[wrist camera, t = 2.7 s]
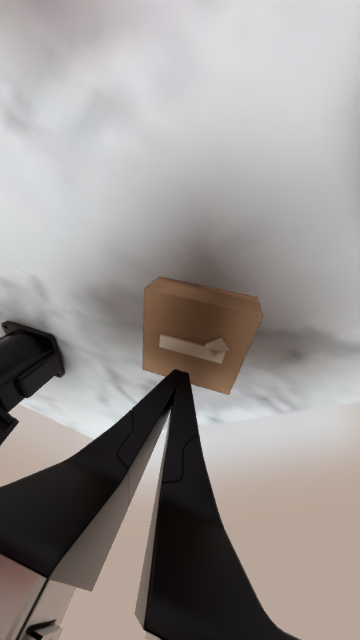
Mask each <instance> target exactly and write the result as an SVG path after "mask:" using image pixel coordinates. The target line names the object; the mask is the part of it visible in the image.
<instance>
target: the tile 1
mask: <svg viewBox="0 0 360 640" xmlns="http://www.w3.org/2000/svg"><path fill="white" fill-rule="evenodd" d="M262 317H263V313H262V310H261V307H260V304H259V301H258V298H257V297H253V296H248V295H244V294H239V293H234V292H229V291H225V290H220V289H215V288H210V287H206V286H201V285H196V284H191V283H187V282H182V281H177V280H172V279H168V278H163V277H159V278H157V279H156V280H155V281H154V282H152V283H151V284H150V285H149V286H147V287H146V288H145V289H144V327H143V370H146V371H149V372H152V373H156V374H159V375H163V376H167V375H168V374H169V373H171V372H172V371H173V370H174V369H178V370H181V372H182V371H184V372H188V373H189V376H190V382H191V384H193V385H196V386H200V387H203V388H207V389H210V390H213V391H217V392H220V393H223V394H227V395H229V394H230V391H231V389H232V387H233V384H234V382H235V380H236V377H237V375H238V373H239V370H240V368H241V366H242V363H243V361H244V359H245V357H246V354H247V352H248V350H249V347H250V345H251V343H252V340H253V338H254V336H255V333H256V331H257V329H258V326H259V324H260V322H261V320H262Z"/></svg>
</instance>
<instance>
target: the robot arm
mask: <svg viewBox="0 0 360 640" xmlns="http://www.w3.org/2000/svg"><path fill="white" fill-rule="evenodd" d="M2 327H3V329H4V331H5V334H6V335H5V336H3V337H1V338H0V445H1V444H2V443H3V441H4V440H5V439H6V438H7V436H8V435H9V434H10V433H11V431H12V430H13V429H14V427H15V426H16V425H17V424H18V422H19V421H18V420H17V419H16V418H13V417H12V416H11V415H10V414H9V413H8V412H9V411H10V410H11V409H12V408H14V407H15V406H16V405H17V404H18V403H20V402H21V401H22V400H23V399H24V398H29V397H31V396H32V395H33V394H34V393H35V392H36V391H38V390H39V389H40V388H41V387H42V386H43V385H44V384H45V383H47V382H48V381H49V380H50V379H51V378H52V377H53V376H56V377H59V378H61V377H62V376H63V375H64V371H63V367H62V364H61V360H60V357H59V353H58V349H57V346H56V342H55V339H54V337H53V336H51V335H49V334H46V333H43V332H40V331H37V330H33V329H30V328H27V327H24V326H21V325H18V324H14V323H11V322H8V321H6V322H4V323H2ZM171 407H172V408H171ZM170 410H171V412H170ZM169 413H170V418H169V423H168V429H167V435H166V441H165V446H164V452H163V457H162V463H161V468H160V474H159V480H158V485H157V492H156V497H155V502H154V508H153V513H152V519H151V525H150V531H149V536H148V542H147V547H146V553H145V559H144V564H143V570H142V575H141V581H140V587H139V593H138V599H137V603H136V609H135V615H136V617H137V619H138V620H139V622H140V624H141V626H142V628H143V629H144V630H145V631H146V637H145V640H300V639H298V638H296V637H294V636H292V635H290V634H288V633H286V632H284V631H282V630H281V629H279V628H278V627H277V626H276V625H275V624H274V623H273V622H272V621H271V619H270V618H269V616H268V615H267V614H266V612H265V611H264V609H263V607H262V606H261V604H260V602H259V600H258V598H257V596H256V594H255V592H254V590H253V588H252V586H251V583H250V581H249V579H248V577H247V575H246V573H245V571H244V569H243V567H242V565H241V562H240V560H239V558H238V556H237V554H236V552H235V550H234V548H233V546H232V544H231V542H230V539H229V537H228V535H227V534H226V531H225V529H224V526H223V524H222V521H221V518H220V515H219V512H218V508H217V505H216V501H215V498H214V494H213V491H212V487H211V484H210V480H209V477H208V473H207V469H206V465H205V461H204V457H203V453H202V447H201V442H200V436H199V430H198V424H197V418H196V412H195V406H194V400H193V394H192V388H191V382H190V376H189V373H188V372H184V371H182V372H181V370H178V369H174V370H173V371H172V372H171V373H169V374H168V375H167V376H166V377H165V378H164V379H163V380H162V381H161V382H160V383H159V384H158V385H157V386H156V387H155V388H154V389H152V390H151V391H150V392H149V393H148V394H147V395H146V396H145V397H144V398H143V399H142V400H141V401H140V402H139V403H138V404H136V405H135V406H134V407H133V408H132V410H130V411H129V412H128V413H127V414H126V415H125V416H124V417H122V418H121V419H120V420H119V421H118V422H117V423H116V424H114V425H113V426H112V427H111V428H109V429H108V430H107V431H105V432H104V433H103V434H102V435H100V436H99V437H98V438H96V439H95V440H94V441H92V442H91V443H90V444H88V445H87V446H86V447H84V448H83V449H82V450H80V451H79V452H78V453H76V454H75V455H73V456H72V457H70V458H68V459H67V460H65V461H63V462H61V463H58V464H56V465H53V466H51V467H49V468H46V469H44V470H42V471H39V472H37V473H34V474H32V475H29V476H27V477H25V478H22V479H20V480H17V481H15V482H12V483H10V484H8V485H5V486H2V487H0V640H58V639H59V637H60V634H61V632H62V628H61V627H60V624H61V622H62V619H63V617H64V615H65V612H66V610H67V608H68V605H69V603H70V601H71V598H72V596H73V593H74V591H75V589H76V587H78V588H81V589H84V590H88V591H92V590H93V587H94V585H95V583H96V581H97V578H98V576H99V574H100V571H101V569H102V567H103V565H104V562H105V560H106V558H107V555H108V553H109V551H110V548H111V546H112V544H113V542H114V539H115V537H116V535H117V532H118V530H119V528H120V525H121V523H122V521H123V519H124V516H125V514H126V512H127V509H128V507H129V504H130V502H131V500H132V498H133V496H134V493H135V491H136V489H137V486H138V484H139V482H140V480H141V477H142V475H143V473H144V470H145V468H146V466H147V463H148V461H149V459H150V457H151V454H152V452H153V450H154V447H155V445H156V443H157V440H158V438H159V436H160V434H161V431H162V429H163V427H164V424H165V422H166V420H167V417H168V415H169Z"/></svg>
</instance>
